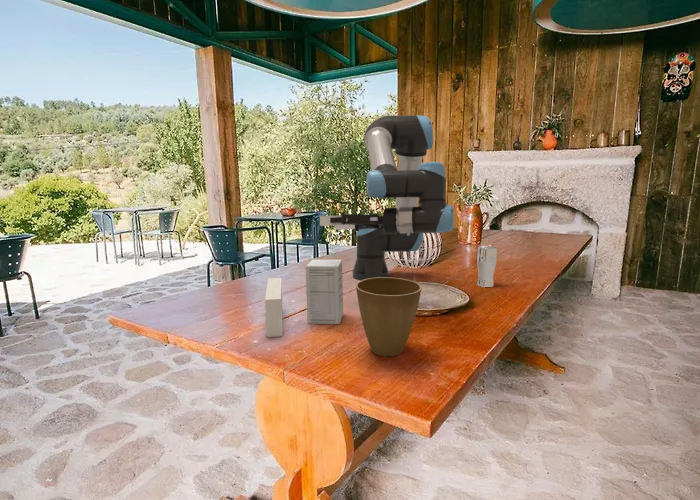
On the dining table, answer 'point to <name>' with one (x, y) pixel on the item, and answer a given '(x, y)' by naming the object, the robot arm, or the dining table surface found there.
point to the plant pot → (388, 312)
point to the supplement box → (324, 291)
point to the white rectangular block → (274, 307)
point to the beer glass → (486, 265)
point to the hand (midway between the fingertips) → (327, 223)
